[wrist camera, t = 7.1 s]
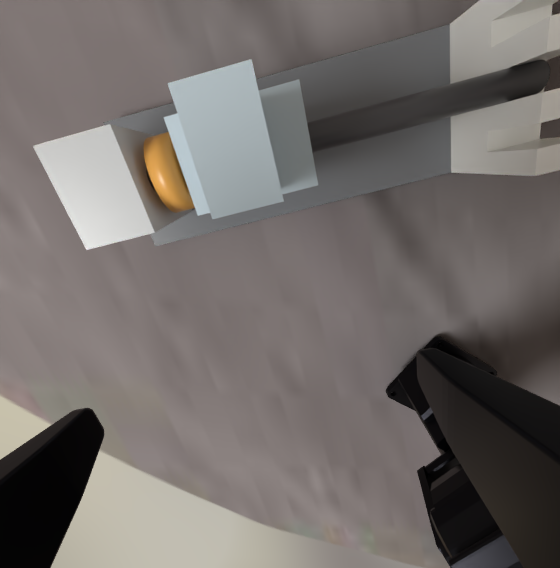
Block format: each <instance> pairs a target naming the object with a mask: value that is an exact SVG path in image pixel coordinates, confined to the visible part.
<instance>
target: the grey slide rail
mask: <svg viewBox="0 0 560 568" xmlns="http://www.w3.org/2000/svg"><path fill="white" fill-rule="evenodd" d="M557 1H559V0H479V1H478V2H477V3H476V4H474V5H473V6H472V7H471V8H469V9H468V10H467V11H466V12H464V13H463V14H462V15H461V16H459V17H458V18H457V19H455V20H454V21H453V22H452V23H450V24H448V25H445V26H441V27H438V28H434V29H431V30H427V31H424V32H420V33H417V34H413V35H410V36H406V37H403V38H399V39H396V40H392V41H389V42H385V43H382V44H378V45H374V46H371V47H367V48H364V49H360V50H357V51H353V52H350V53H346V54H343V55H339V56H336V57H332V58H329V59H325V60H322V61H318V62H315V63H311V64H308V65H304V66H301V67H297V68H294V69H290V70H286V71H283V72H279V73H276V74H272V75H269V76H265V77H262V78H258V79H256V82H257V86H258V90H263V89H266V88H270V87H273V86H277V85H280V84H284V83H287V82H291V81H295V80H298V79H299V81H300V86H301V92H302V97H303V103H304V108H305V114H306V120H307V125H308V131H309V136H310V142H311V147H312V153H313V158H314V164H315V169H316V175H317V181H318V185H317V186H314V187H310V188H306V189H302V190H298V191H294V192H290V193H286V194H282V195H283V200H284V202H280V203H276V204H272V205H268V206H264V207H260V208H256V209H252V210H248V211H244V212H240V213H236V214H232V215H228V216H224V217H220V218H216V219H212V217H211V213H207V214H203V215H199V216H198V215H197V212H196V209H195V207H194V204H193V201H192V198H191V195H190V192H189V189H188V186H187V184H186V181H185V178H184V175H183V172H182V169H181V166H180V163H179V161H178V158H177V155H176V152H175V149H174V146H173V143H172V140H171V137H170V135H169V132H168V129H167V126H166V123H165V120H164V117H166V116H170V115H174V114H177V110H176V107H175V104H174V103H170V104H167V105H163V106H160V107H156V108H153V109H149V110H146V111H142V112H139V113H135V114H132V115H128V116H125V117H121V118H118V119H114V120H110V121H107V122H103V123H104V125H105V126H101V127H98V128H94V129H91V130H87V131H84V132H80V133H77V134H73V135H70V136H66V137H63V138H59V139H56V140H52V141H48V142H45V143H41V144H38V145H34V146H33V147H34V149H35V151H36V153H37V155H38V157H39V159H40V161H41V163H42V165H43V167H44V168H45V170H46V172H47V174H48V176H49V178H50V180H51V182H52V184H53V186H54V188H55V190H56V192H57V194H58V196H59V197H60V199H61V201H62V203H63V205H64V207H65V209H66V211H67V213H68V215H69V217H70V219H71V221H72V223H73V224H74V226H75V228H76V230H77V232H78V234H79V236H80V238H81V240H82V242H83V244H84V246H85V248H86V250H88V249H92V248H96V247H100V246H104V245H108V244H112V243H116V242H120V241H124V240H128V239H131V238H135V237H139V236H143V235H147V234H150V235H151V237H152V239H153V242H154V244H155V246H158V245H162V244H166V243H170V242H175V241H179V240H183V239H187V238H191V237H195V236H199V235H203V234H207V233H211V232H215V231H219V230H223V229H227V228H231V227H235V226H239V225H243V224H247V223H251V222H255V221H259V220H263V219H267V218H271V217H275V216H279V215H283V214H287V213H291V212H295V211H299V210H303V209H307V208H311V207H315V206H319V205H323V204H327V203H331V202H335V201H339V200H343V199H347V198H351V197H355V196H359V195H363V194H367V193H371V192H375V191H379V190H383V189H387V188H391V187H395V186H399V185H403V184H407V183H411V182H415V181H419V180H423V179H427V178H431V177H435V176H439V175H443V174H447V173H473V174H496V175H520V176H538V175H542V174H546V173H550V172H554V171H558V170H560V137H554V138H544V139H540V130H541V123H543V122H547V121H551V120H554V119H558V118H560V88H558V89H554V90H550V91H546V92H544V88H545V86H546V84H547V82H548V79H549V75H550V68H549V64H548V63H547V60H549V59H552V58H554V57H557V56H560V13H559V14H556V15H552V5H553V4H554V3H555V2H557ZM551 15H552V16H551Z"/></svg>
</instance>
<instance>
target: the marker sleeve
mask: <svg viewBox="0 0 560 568" xmlns="http://www.w3.org/2000/svg"><path fill="white" fill-rule="evenodd" d="M168 86H169V89H170V92H171V95H172V98H173V101H174V104H175V107H176V110H177V114H174V115H170V116H166V117H164V120H165V123H166V126H167V129H168V132H169V135H170V137H171V140H172V143H173V146H174V149H175V152H176V155H177V158H178V161H179V163H180V166H181V169H182V172H183V175H184V178H185V181H186V184H187V186H188V189H189V192H190V195H191V198H192V201H193V204H194V207H195V209H196V212H197V215H198V216H199V215H203V214H207V213H211V217H212V219H216V218H220V217H224V216H228V215H232V214H236V213H240V212H244V211H248V210H252V209H256V208H260V207H264V206H268V205H272V204H276V203H280V202H284V200H283V195H282V194H286V193H290V192H294V191H298V190H302V189H306V188H310V187H314V186H317V185H318V181H317V175H316V169H315V164H314V158H313V153H312V147H311V142H310V136H309V131H308V125H307V120H306V114H305V108H304V103H303V97H302V92H301V86H300V81H299V79H298V80H295V81H291V82H287V83H284V84H280V85H277V86H273V87H270V88H266V89H263V90H258V86H257V82H256V77H255V73H254V69H253V64H252V60H251V59H250V60H247V61H243V62H240V63H236V64H233V65H229V66H226V67H222V68H219V69H216V70H212V71H209V72H205V73H202V74H198V75H195V76H191V77H188V78H184V79H181V80H178V81H174V82H171V83H168Z"/></svg>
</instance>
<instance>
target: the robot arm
mask: <svg viewBox="0 0 560 568" xmlns="http://www.w3.org/2000/svg"><path fill="white" fill-rule="evenodd" d="M440 342H441V343H440ZM438 343H440V344H439V345H437V344H438ZM496 375H497V371H496V370H495V369H494V368H493V367H491V366H490V365H488V364H486V363H485V362H483V361H481V360H479V359H478V358H476V357H474V356H473V355H471V354H469V353H468V352H466V351H464V350H463V349H461V348H459V347H458V346H456V345H454V344H452V343H451V342H449V341H447V340H446V339H444V338H442V337H435V338H434V339H433V340H432V341H431V342H430V343H429V344H428V345H427V346H426V347H425V348H424V349H423V350H419V351H418V352H417V357H416V358H415V359H414V360H413V361H412V362H411V363H410V364H409V365H408V366H407V367H406V368H405V369H404V370H403V372H402V373H401V374H400V375H399V376H398V377H397V378H396V379H395V380H394V381H393V382H392V383H391V384H390V385H389V386H388V388H387V389H386V393H387V395H388V397H389V398H391V399H393V400H395V401H397V402H399V403H401V404H403V405H405V406H407V407H409V408H411V409H413V410H415V411H416V412H417V414H418V416H419V417H420V419H421V421H422V423H423V424H424V426H425V428H426V429H427V431H428V433H429V435H430V436H431V438H432V440H433V441H434V443H435V445H436V447H437V448H438V450H439V452H440V453H441V455H440V456H439V457H438V458H436V459H435V460H434V461H432V462H431V463H430V464H428V465H427V466H426V467H425V466H423V467H421V468H420V469H419V470H417V472H418V476H419V480H420V484H421V488H422V492H423V496H424V500H425V504H426V508H427V512H428V516H429V519H430V523H431V527H432V531H433V534H434V537H435V541H436V545H437V547H438V549H439V550H440V552H441V553H442V554H443V556H444V558H445V559H446V561H447V563H448V564H449V566H450V567H451V568H560V406H559V405H557V404H555V403H553V402H550V401H548V400H546V399H544V398H542V397H540V396H537V395H535V394H533V393H531V392H529V391H527V390H524V389H522V388H520V387H518V386H516V385H514V384H511V383H509V382H507V381H505V380H503V379H501V378H498V377H496ZM391 392H393V393H391ZM103 438H104V429H103V426H102V425H101V423H100V421H99V420H98V418H97V416H96V415H95V413H94V411H93V410H92V409H90V408H83V409H78V410H74V411H72V412H70V413H69V414H67V415H66V416H64V417H63V418H61V419H60V420H59V421H57V422H56V423H54V424H53V425H51V426H50V427H48V428H47V429H45V430H44V431H42V432H41V433H39V434H38V435H36V436H35V437H33V438H32V439H30V440H29V441H27V442H26V443H24V444H23V445H22V446H20V447H19V448H17V449H16V450H14V451H13V452H11V453H10V454H8V455H7V456H5V457H4V458H2V459H1V460H0V568H51V565H52V563H53V561H54V559H55V556H56V554H57V552H58V550H59V548H60V545H61V543H62V541H63V539H64V537H65V534H66V532H67V530H68V528H69V526H70V523H71V521H72V519H73V516H74V514H75V512H76V510H77V508H78V505H79V503H80V501H81V498H82V496H83V493H84V491H85V488H86V485H87V483H88V480H89V477H90V474H91V471H92V468H93V466H94V463H95V460H96V457H97V455H98V452H99V449H100V446H101V444H102V441H103Z"/></svg>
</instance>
